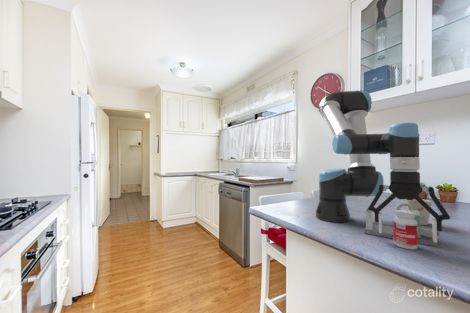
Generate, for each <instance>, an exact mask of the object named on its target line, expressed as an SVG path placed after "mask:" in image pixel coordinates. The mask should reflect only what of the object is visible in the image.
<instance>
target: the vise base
mask: <svg viewBox="0 0 470 313" xmlns="http://www.w3.org/2000/svg"><path fill="white" fill-rule="evenodd" d="M368 208H369V206H368V207H367V209H366V210H365V228H364V234H365V235H372V236H377V237H381V238H388V239H392V240H393V238H394V237H393V226H388V225H383V224H382V233H379V224H376V222H375V213H374V212H373V211H371V210H369V209H368ZM418 244H419V245H426V246H428V247H429V246H431V247H436V248H437V247H438V242H437V243H435V242H433V236H429V235H423V234H421V238H418Z"/></svg>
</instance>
